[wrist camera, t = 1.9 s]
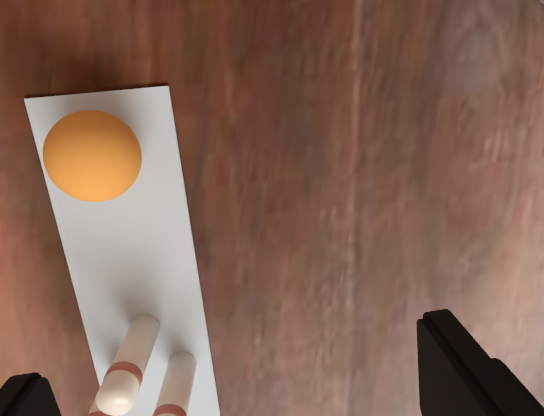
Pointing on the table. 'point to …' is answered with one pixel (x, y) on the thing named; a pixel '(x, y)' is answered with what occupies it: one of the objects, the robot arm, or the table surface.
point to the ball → (92, 156)
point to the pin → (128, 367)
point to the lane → (134, 246)
